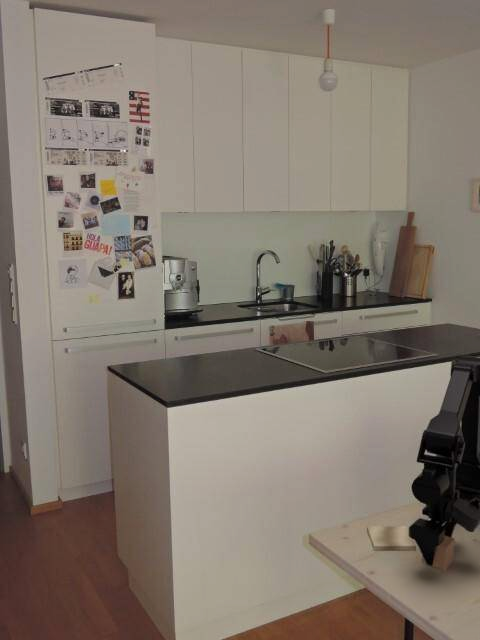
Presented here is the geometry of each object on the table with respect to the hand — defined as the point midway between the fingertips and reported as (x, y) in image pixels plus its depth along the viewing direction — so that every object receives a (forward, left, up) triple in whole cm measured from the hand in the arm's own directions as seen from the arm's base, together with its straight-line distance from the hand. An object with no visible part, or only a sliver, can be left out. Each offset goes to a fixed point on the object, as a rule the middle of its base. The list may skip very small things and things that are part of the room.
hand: (437, 555), depth 137 cm
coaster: (+8, -9, -1) cm, 12 cm away
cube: (0, 0, -1) cm, 1 cm away
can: (-4, -17, -1) cm, 18 cm away
